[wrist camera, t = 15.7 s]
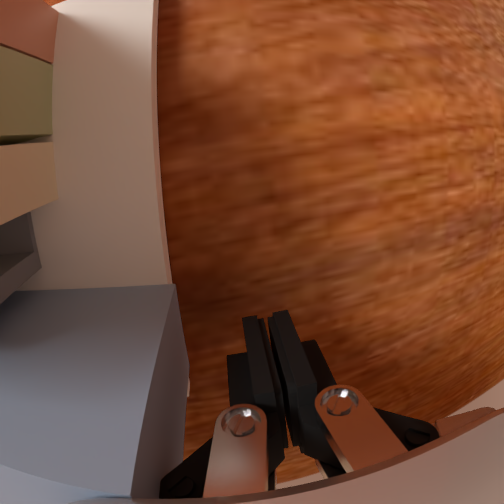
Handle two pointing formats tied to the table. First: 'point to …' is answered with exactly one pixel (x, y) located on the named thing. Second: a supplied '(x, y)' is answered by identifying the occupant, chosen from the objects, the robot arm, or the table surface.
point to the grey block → (90, 393)
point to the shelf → (80, 147)
